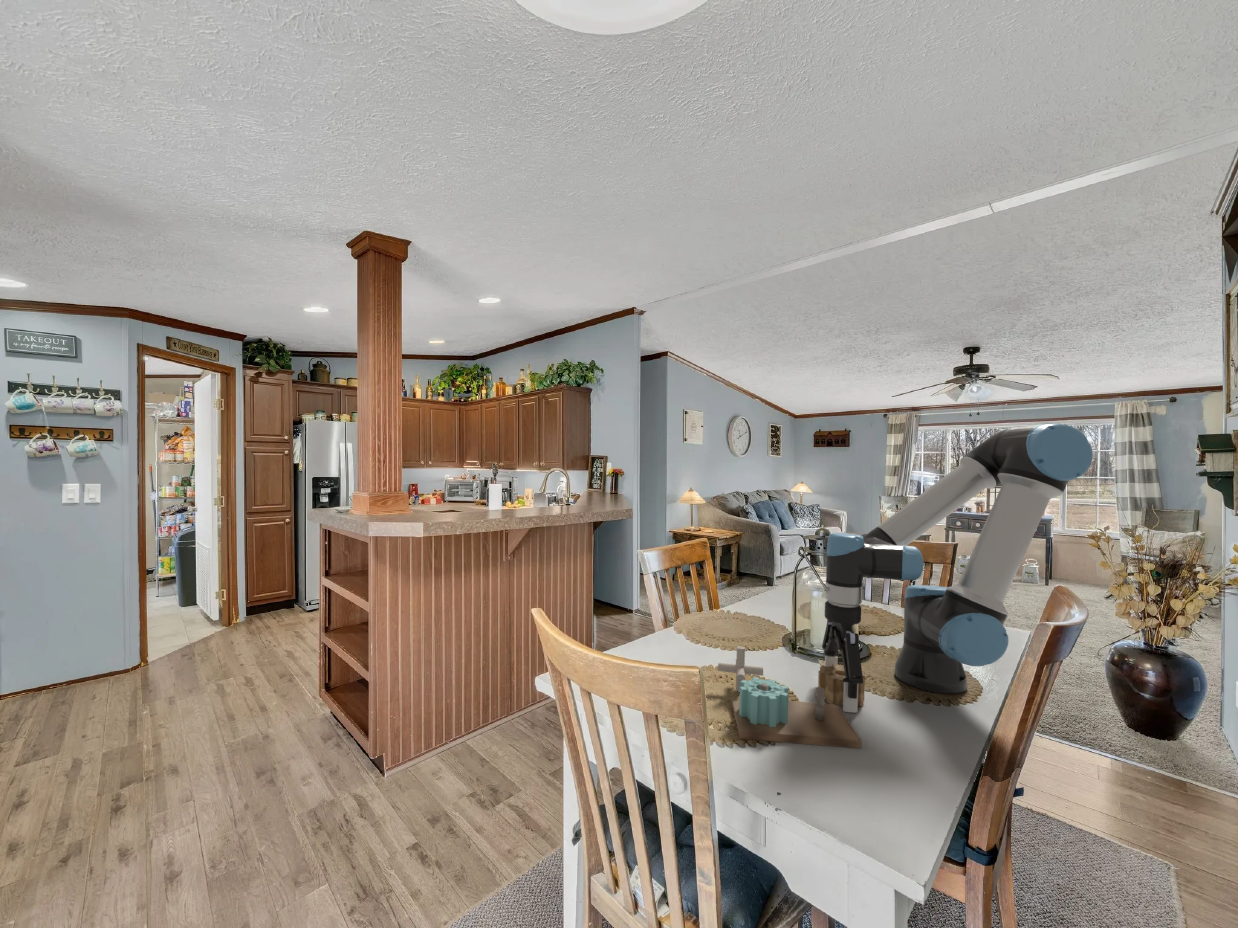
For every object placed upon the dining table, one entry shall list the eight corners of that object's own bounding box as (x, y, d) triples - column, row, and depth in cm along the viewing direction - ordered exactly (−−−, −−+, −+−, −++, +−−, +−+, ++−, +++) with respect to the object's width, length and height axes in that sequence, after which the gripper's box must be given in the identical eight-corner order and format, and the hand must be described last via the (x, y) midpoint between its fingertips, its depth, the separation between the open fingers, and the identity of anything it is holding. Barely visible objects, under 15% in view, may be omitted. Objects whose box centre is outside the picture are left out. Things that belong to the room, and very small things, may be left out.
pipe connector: (764, 703, 112) (765, 657, 112) (717, 698, 114) (718, 653, 114) (760, 684, 122) (761, 642, 122) (717, 679, 124) (718, 638, 124)
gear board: (836, 711, 109) (837, 676, 109) (860, 748, 96) (862, 707, 95) (731, 703, 112) (732, 669, 112) (739, 738, 98) (740, 699, 98)
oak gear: (855, 689, 120) (856, 665, 120) (871, 709, 111) (872, 683, 111) (813, 686, 121) (813, 663, 121) (825, 705, 112) (825, 680, 112)
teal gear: (776, 702, 109) (777, 676, 109) (796, 726, 100) (797, 697, 100) (732, 703, 108) (733, 677, 108) (748, 727, 99) (749, 699, 99)
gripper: (810, 587, 129) (807, 672, 129) (844, 618, 104) (840, 723, 104) (842, 589, 128) (839, 674, 128) (883, 620, 103) (879, 726, 103)
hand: (839, 696), depth 116 cm, fingers open, 13 cm apart
